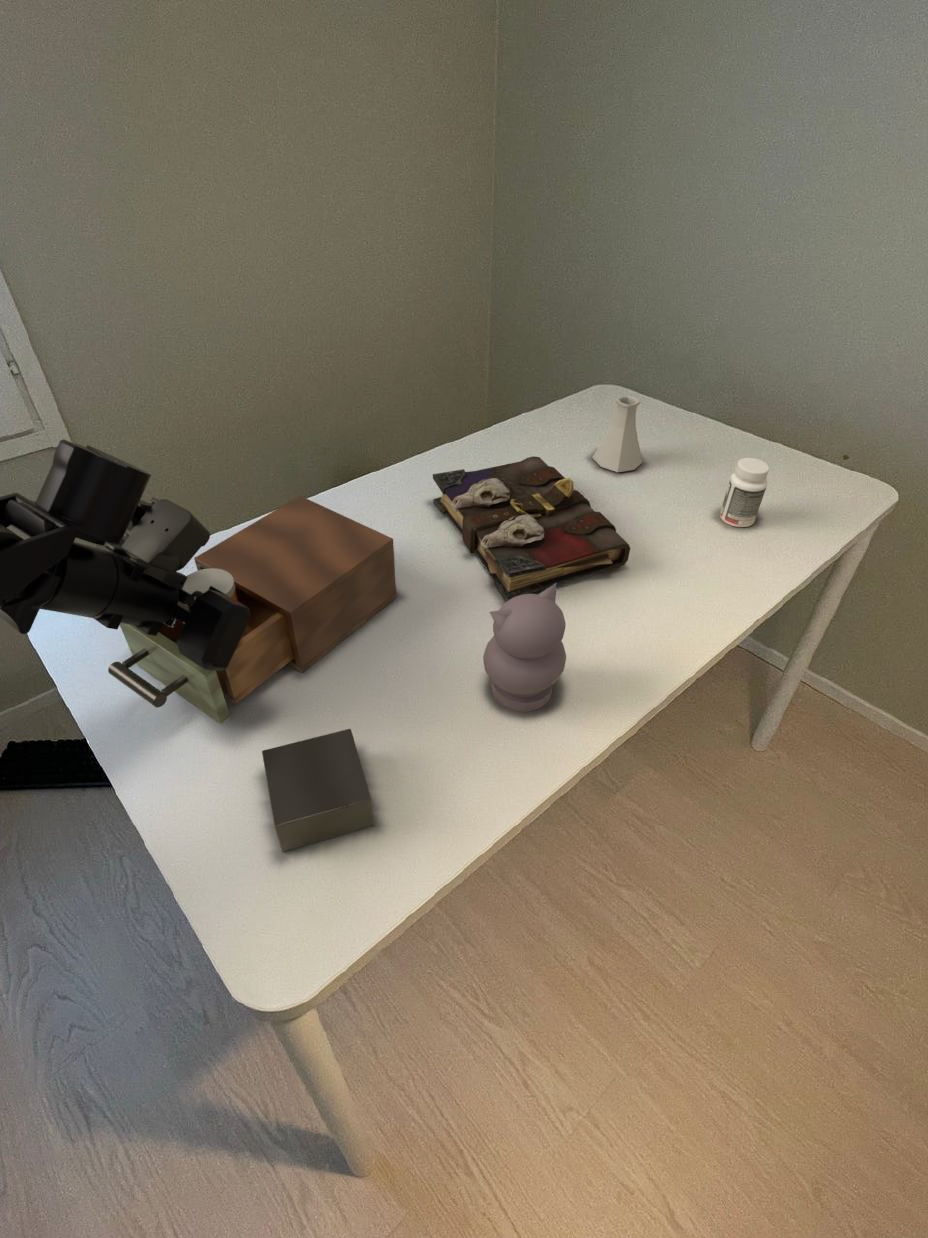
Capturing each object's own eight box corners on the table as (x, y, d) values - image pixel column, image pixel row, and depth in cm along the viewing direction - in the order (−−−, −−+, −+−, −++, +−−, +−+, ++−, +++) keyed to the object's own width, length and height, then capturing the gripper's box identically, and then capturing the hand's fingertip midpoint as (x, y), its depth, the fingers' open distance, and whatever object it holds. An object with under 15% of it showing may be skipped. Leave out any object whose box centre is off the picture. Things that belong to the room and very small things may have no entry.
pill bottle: (761, 524, 97) (780, 471, 91) (732, 530, 96) (750, 476, 90) (740, 506, 100) (757, 453, 95) (712, 512, 99) (728, 459, 93)
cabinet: (302, 673, 75) (290, 612, 69) (211, 617, 81) (193, 558, 75) (396, 597, 84) (393, 538, 78) (309, 552, 90) (300, 495, 85)
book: (631, 573, 88) (642, 525, 83) (502, 607, 83) (505, 558, 78) (536, 471, 106) (541, 426, 102) (425, 494, 101) (424, 448, 96)
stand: (282, 852, 59) (274, 826, 57) (269, 777, 65) (261, 750, 62) (374, 825, 61) (371, 799, 59) (354, 754, 67) (350, 728, 64)
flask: (616, 445, 113) (627, 385, 106) (650, 464, 109) (664, 402, 102) (583, 458, 110) (593, 397, 103) (617, 478, 105) (629, 415, 99)
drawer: (188, 751, 66) (168, 703, 61) (103, 687, 72) (79, 639, 67) (326, 641, 77) (319, 594, 72) (243, 594, 83) (231, 547, 78)
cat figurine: (510, 731, 69) (519, 644, 61) (466, 682, 74) (469, 595, 66) (577, 696, 73) (593, 609, 65) (530, 651, 78) (540, 565, 70)
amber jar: (224, 668, 71) (206, 608, 66) (186, 650, 73) (166, 590, 67) (259, 637, 74) (245, 578, 69) (221, 621, 76) (205, 562, 71)
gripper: (208, 534, 54) (326, 576, 68) (68, 459, 62) (200, 510, 76) (148, 665, 54) (277, 680, 68) (17, 574, 62) (157, 604, 76)
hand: (226, 613), depth 72 cm, fingers closed on amber jar, 5 cm apart
